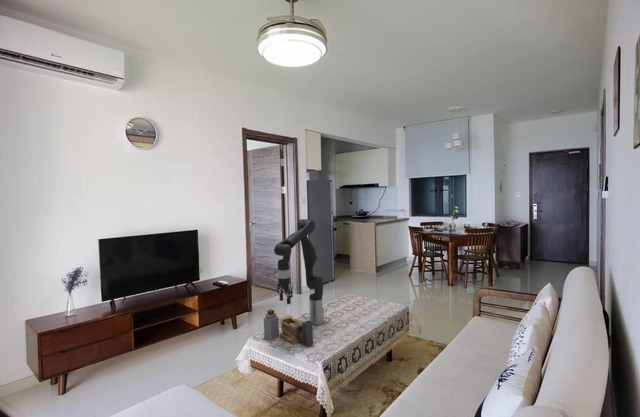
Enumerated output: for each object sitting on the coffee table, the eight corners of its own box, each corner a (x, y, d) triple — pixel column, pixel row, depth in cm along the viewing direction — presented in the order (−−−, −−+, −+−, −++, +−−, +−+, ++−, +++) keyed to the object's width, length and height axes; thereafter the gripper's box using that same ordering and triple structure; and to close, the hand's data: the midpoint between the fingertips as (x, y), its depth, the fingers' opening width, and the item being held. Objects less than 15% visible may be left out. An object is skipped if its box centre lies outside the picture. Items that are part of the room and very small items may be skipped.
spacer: (289, 321, 238) (289, 315, 237) (292, 322, 235) (292, 316, 234) (279, 324, 233) (279, 318, 232) (282, 325, 230) (282, 319, 229)
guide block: (297, 331, 236) (296, 316, 236) (309, 337, 226) (309, 322, 225) (279, 337, 228) (279, 321, 227) (291, 344, 217) (291, 328, 216)
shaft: (287, 330, 237) (286, 310, 237) (313, 343, 216) (312, 322, 215) (281, 332, 234) (280, 312, 233) (306, 346, 213) (305, 324, 212)
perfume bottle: (272, 334, 232) (271, 307, 231) (279, 337, 228) (278, 310, 227) (264, 338, 227) (263, 310, 226) (271, 341, 223) (270, 313, 222)
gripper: (295, 277, 213) (296, 303, 214) (283, 273, 224) (284, 298, 225) (284, 279, 208) (286, 306, 210) (272, 275, 220) (273, 300, 221)
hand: (285, 302), depth 217 cm, fingers open, 8 cm apart
